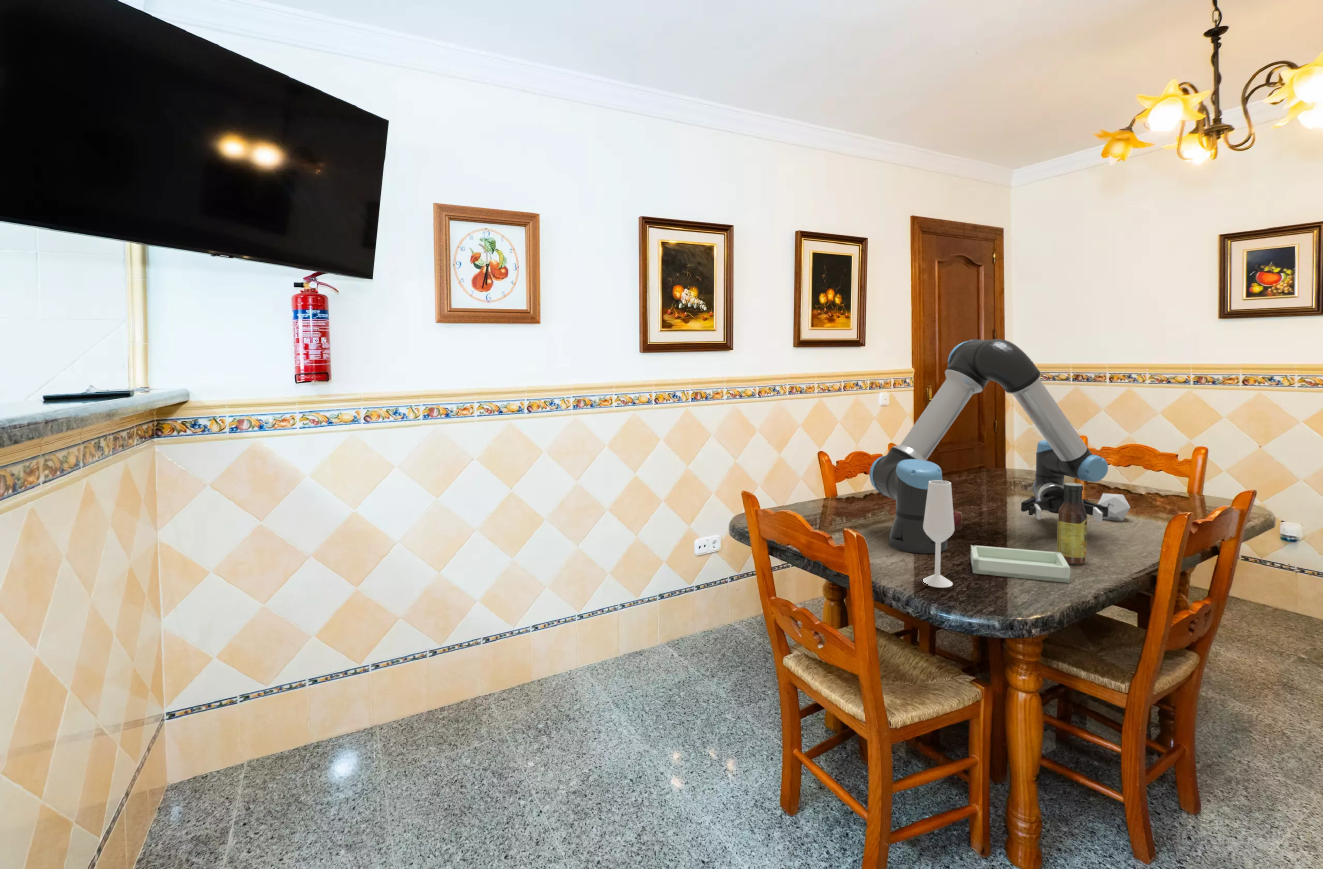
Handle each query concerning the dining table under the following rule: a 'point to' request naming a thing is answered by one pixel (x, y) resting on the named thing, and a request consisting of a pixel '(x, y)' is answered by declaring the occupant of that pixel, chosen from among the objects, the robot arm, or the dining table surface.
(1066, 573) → the tray
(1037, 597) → the dining table surface
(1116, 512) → the die
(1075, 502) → the sauce bottle
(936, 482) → the champagne flute
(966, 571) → the dining table surface
